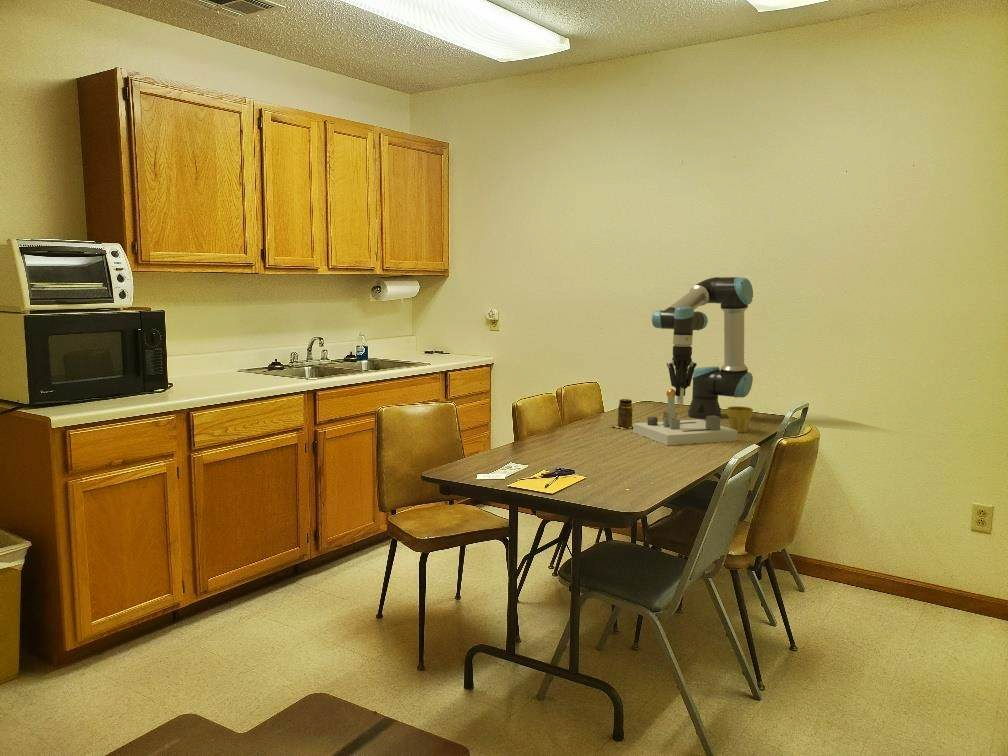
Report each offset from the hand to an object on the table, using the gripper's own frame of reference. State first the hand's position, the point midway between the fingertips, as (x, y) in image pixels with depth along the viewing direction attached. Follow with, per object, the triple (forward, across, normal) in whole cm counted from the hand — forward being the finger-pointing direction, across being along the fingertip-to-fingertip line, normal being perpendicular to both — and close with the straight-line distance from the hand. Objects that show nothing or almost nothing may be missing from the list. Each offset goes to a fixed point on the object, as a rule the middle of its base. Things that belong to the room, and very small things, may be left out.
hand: (679, 404), depth 310 cm
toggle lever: (+8, -3, +1) cm, 9 cm away
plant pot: (+13, +32, +4) cm, 35 cm away
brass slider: (+9, +1, +8) cm, 12 cm away
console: (+14, +3, +1) cm, 14 cm away
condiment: (+14, -11, +26) cm, 31 cm away
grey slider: (+9, +11, -7) cm, 16 cm away
